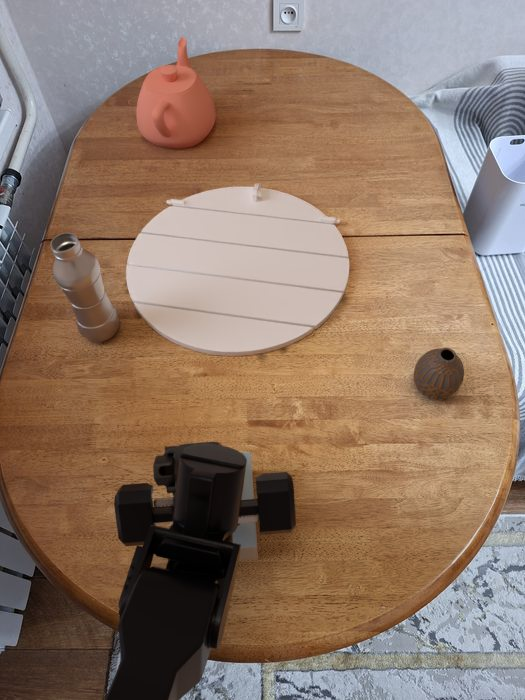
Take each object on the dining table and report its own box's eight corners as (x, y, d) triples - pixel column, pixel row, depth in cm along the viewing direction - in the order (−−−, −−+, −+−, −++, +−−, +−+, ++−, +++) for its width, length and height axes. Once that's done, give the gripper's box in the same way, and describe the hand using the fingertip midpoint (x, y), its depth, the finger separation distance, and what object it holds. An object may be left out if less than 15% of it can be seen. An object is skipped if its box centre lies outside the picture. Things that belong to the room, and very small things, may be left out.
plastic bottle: (73, 335, 90) (28, 247, 73) (102, 308, 93) (65, 218, 76) (102, 353, 88) (62, 267, 71) (131, 325, 91) (99, 236, 74)
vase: (455, 370, 85) (472, 337, 77) (456, 409, 81) (474, 379, 73) (410, 364, 85) (422, 331, 78) (408, 403, 82) (421, 371, 74)
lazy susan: (164, 178, 111) (161, 164, 109) (358, 199, 107) (360, 185, 104) (95, 337, 89) (89, 324, 87) (335, 372, 85) (337, 360, 82)
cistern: (258, 559, 69) (256, 542, 63) (179, 566, 69) (169, 549, 63) (252, 469, 76) (250, 445, 70) (180, 475, 76) (171, 451, 69)
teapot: (157, 91, 129) (146, 32, 118) (227, 96, 127) (222, 36, 116) (126, 158, 115) (110, 98, 104) (204, 165, 114) (196, 104, 102)
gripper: (296, 457, 50) (283, 406, 65) (90, 473, 50) (126, 418, 65) (303, 567, 52) (288, 493, 68) (106, 584, 52) (136, 505, 67)
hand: (210, 476), depth 67 cm, fingers closed, pressing on flush button
